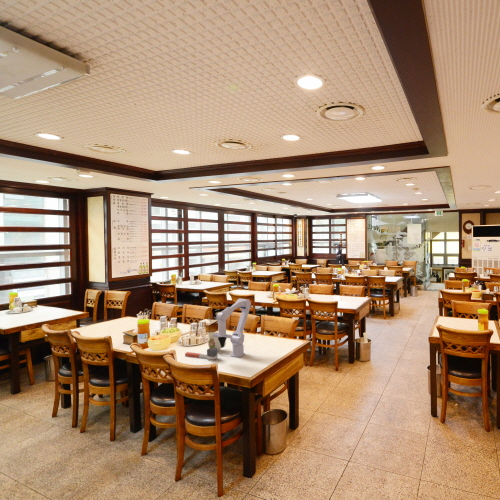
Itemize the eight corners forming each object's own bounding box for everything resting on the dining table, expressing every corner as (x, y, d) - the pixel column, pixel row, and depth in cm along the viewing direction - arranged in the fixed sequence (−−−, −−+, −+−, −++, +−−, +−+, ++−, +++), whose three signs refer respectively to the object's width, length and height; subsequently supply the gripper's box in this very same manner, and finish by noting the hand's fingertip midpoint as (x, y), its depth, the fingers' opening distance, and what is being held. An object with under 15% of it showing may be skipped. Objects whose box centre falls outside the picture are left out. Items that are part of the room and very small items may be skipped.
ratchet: (183, 357, 266) (183, 350, 266) (189, 353, 273) (189, 347, 273) (214, 361, 256) (214, 353, 255) (219, 357, 263) (219, 350, 263)
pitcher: (222, 353, 272) (222, 336, 272) (202, 351, 280) (202, 334, 279) (228, 349, 282) (228, 332, 282) (209, 347, 290) (209, 330, 289)
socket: (210, 354, 264) (210, 347, 264) (217, 354, 262) (217, 348, 262) (207, 356, 259) (206, 349, 259) (213, 357, 257) (213, 350, 257)
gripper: (210, 329, 254) (211, 347, 254) (228, 330, 248) (229, 349, 248) (215, 327, 260) (215, 344, 260) (232, 328, 255) (233, 346, 255)
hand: (222, 347), depth 255 cm, fingers closed
